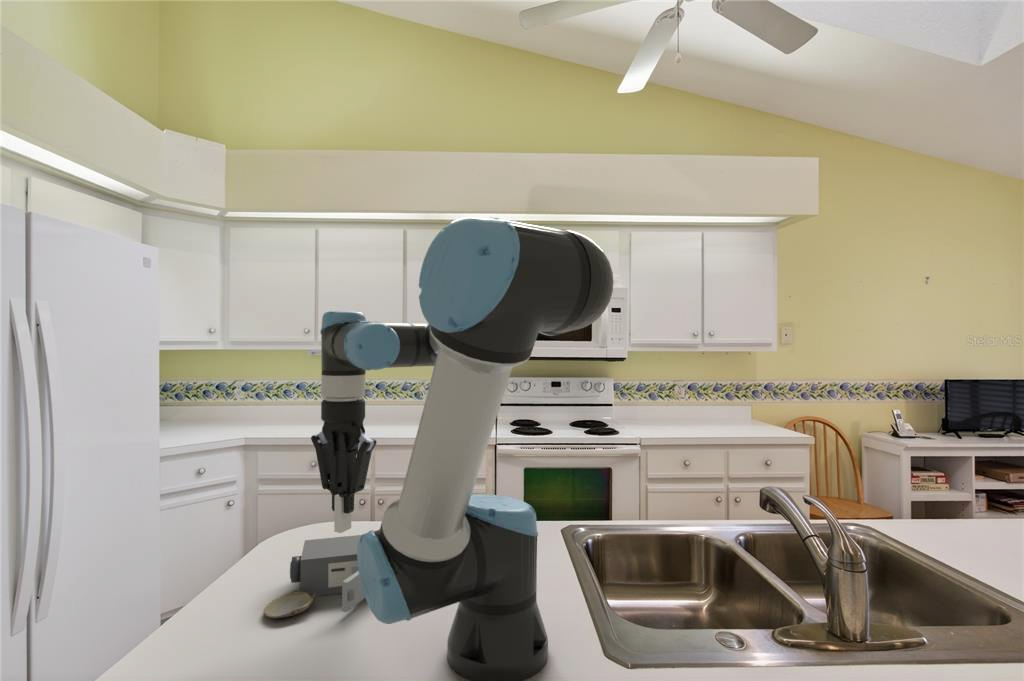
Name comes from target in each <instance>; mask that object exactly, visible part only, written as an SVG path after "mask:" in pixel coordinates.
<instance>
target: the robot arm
mask: <svg viewBox="0 0 1024 681" xmlns="http://www.w3.org/2000/svg"><path fill="white" fill-rule="evenodd" d="M423 258H424V259H423V260H422V261H423V262H422V265H421V269H420V273H419V278H418V279H419V280H418V288H420V289H421V291H420V293H419V295H418V298H419V306H420V310H421V312H422V315H423V317H424V319H425V320H426V322H425V323H417V322H416V323H413V322H412V323H411V322H407V323H406V322H405V323H403V322H381V321H366V316H365V314H364V313H363V312H360V311H347V310H346V311H343V310H342V311H341V310H340V311H339V310H338V311H331V310H330V311H326V312H324V313H323V315H322V319H321V328H320V335H321V338H320V339H321V340H320V341H321V342H320V343H321V379H320V380H321V384H320V386H321V388H320V389H321V392H320V396H321V397H322V398H324V399H323V400H321V402H320V404H321V405H320V406H321V407H320V409H321V410H320V414H321V416H320V418H321V421H323V425H322V427H321V431H320V432H319V433H317V434H313V435H311V437H310V440H311V442H312V444H313V446H314V448H315V454H316V460H317V465H318V470H319V476H320V482H321V487H322V489H324V490H327V491H329V492H330V494H331V509H332V512H333V513H334V518H333V519H334V520H333V521H334V522H333V523H334V525H333V526H334V528H333V531H334V533H338V534H343V533H344V532H347V531H348V530H350V529H352V512H354V510H355V494H356V493H358V492H361V491H364V489H365V486H366V481H367V476H368V471H369V466H370V460H371V457H372V452H373V450H374V449H375V447H376V445H377V440H376V438H370V437H368V435H367V434H366V429H365V426H364V420H365V418H366V400H365V399H364V398H363V397H364V396H365V395H366V371H372V370H373V371H378V370H383V369H389V368H391V369H392V368H409V367H410V368H413V367H433V369H432V373H431V374H432V375H431V377H430V381H429V385H428V390H427V393H426V396H425V397H426V398H425V400H424V401H425V402H424V404H423V410H422V413H421V417H420V419H419V423H418V429H417V431H416V436H415V439H414V444H413V448H412V449H411V450H412V452H411V456H410V459H409V463H408V465H407V471H406V475H405V478H404V482H403V486H402V489H401V494H400V497H399V498H398V499H396V500H394V501H393V502H392V503H390V504H389V505H388V507H387V508H386V510H385V511H384V513H383V516H382V520H381V523H380V524H381V525H380V527H379V529H378V530H373V529H371V530H368V532H366V533H362V534H361V535H362V536H361V537H360V539H359V541H358V545H357V563H358V570H359V576H360V581H361V585H362V588H363V592H364V595H365V598H364V599H365V601H366V603H367V605H368V607H369V609H370V611H371V614H373V616H374V618H375V619H377V621H379V622H381V623H383V624H386V625H392V624H396V623H398V622H401V621H402V622H403V621H408V622H409V621H411V620H412V619H414V618H417V617H420V616H423V615H425V614H429V613H431V612H435V611H436V610H441V609H443V608H446V607H448V606H451V605H455V604H458V605H457V609H456V611H455V615H454V618H453V621H452V624H451V628H450V630H449V634H448V636H447V641H446V642H447V645H446V646H447V647H446V648H447V650H446V651H447V652H446V654H447V656H446V658H447V661H448V663H449V665H450V667H451V668H452V669H453V670H454V671H455V672H456V673H458V675H460V676H462V677H464V678H466V679H468V680H471V681H523V680H526V679H528V678H530V677H532V676H534V675H536V674H537V673H538V672H540V670H542V669H543V667H544V666H545V665H546V663H547V661H548V658H549V638H548V634H547V631H546V628H545V624H544V622H543V618H542V615H541V612H540V608H539V606H538V602H537V588H538V587H537V586H538V585H537V584H538V583H537V578H538V577H537V576H538V575H537V568H538V567H537V565H538V564H537V557H538V555H537V554H538V536H539V532H538V525H537V513H536V511H535V509H534V507H533V506H532V505H531V504H529V503H527V502H526V501H523V500H521V499H517V498H514V497H510V496H504V495H497V494H496V495H495V494H481V493H480V494H473V491H474V488H475V485H476V482H477V478H478V476H479V473H480V470H481V468H482V467H481V466H482V463H483V462H484V461H483V460H484V457H485V454H486V452H487V448H488V445H489V442H490V439H491V436H492V432H493V429H494V426H495V423H496V420H497V417H498V415H499V414H498V413H499V412H500V411H499V410H500V408H501V404H502V401H503V398H504V395H505V392H506V389H507V386H508V383H509V380H510V376H511V374H512V370H513V368H515V367H518V366H520V365H523V364H525V363H526V362H528V360H530V358H531V355H532V352H533V349H534V347H535V343H536V341H537V337H538V335H539V334H542V335H545V336H548V337H549V336H550V337H551V336H558V335H561V334H565V333H568V332H571V331H576V330H580V329H583V328H586V327H588V326H589V325H592V324H593V323H595V322H596V321H597V320H598V319H599V318H600V317H601V316H602V315H603V313H604V312H606V309H607V308H608V305H609V304H610V301H611V299H612V295H613V292H614V274H613V273H614V272H613V269H612V266H611V263H610V261H609V259H608V257H607V256H606V253H605V251H603V249H602V248H601V247H600V246H599V245H598V244H597V243H596V242H594V240H592V239H591V238H589V237H588V236H586V235H584V234H582V233H579V232H576V231H573V230H568V229H567V230H566V229H559V228H552V227H546V226H539V225H535V224H530V223H523V222H518V221H511V220H506V219H502V218H500V217H489V218H484V217H483V218H482V217H475V216H474V217H473V216H472V217H471V216H465V217H460V218H457V219H455V220H453V221H451V222H449V224H448V225H446V226H445V227H443V228H442V229H440V230H439V232H438V233H437V234H436V236H435V237H434V238H433V240H432V241H431V243H430V244H429V247H428V249H427V251H426V254H425V256H424V257H423Z"/></svg>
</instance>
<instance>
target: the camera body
mask: <svg viewBox="0 0 1024 681" xmlns="http://www.w3.org/2000/svg"><path fill="white" fill-rule="evenodd" d="M362 535H363V534H355V535H348V536H347V535H345V536H338V537H337V536H336V537H335V536H334V537H323V538H317V539H315V538H314V539H305V540H304V542H303V548H302V553H301V555H297V556H296V555H295V556H291V561H290V563H289V578H290V582H291V583H290V584H294V583H295V584H296V583H300V591H301V592H306V593H309V594H315V593H316V595H315V597H316V598H317V597H323V596H331V595H340V594H342V582H343V581H344V580H346V579H347V578H348V577H350V576H351V575H353V574H354V573H356V572H357V571H358V563H357V545H358V541H359V539H360V537H361V536H362ZM315 597H314V598H315Z"/></svg>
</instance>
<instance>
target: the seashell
mask: <svg viewBox="0 0 1024 681" xmlns="http://www.w3.org/2000/svg"><path fill="white" fill-rule="evenodd" d="M315 595H316V593H315V594H309V593H306V592H301V590H300V591H299V590H298V591H293V592H289V593H286V594H283V595H279V597H277V598H275V599H273V600H272V601H270V602H268V604H266V606H265V607H264V609H263V615H264V617H266V618H270V619H271V618H272V619H282V618H283V619H284V618H289V617H293V616H295V615H298V614H301V613H303V612H304V611H306V610H308V608H309V607H310V606H311V605H312V604H313V602H314V599H315Z"/></svg>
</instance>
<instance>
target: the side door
mask: <svg viewBox="0 0 1024 681" xmlns="http://www.w3.org/2000/svg"><path fill="white" fill-rule="evenodd" d="M341 594H342V595H341V598H342V600H341V607H342V608H341V609H342V612H345V613H348V612H349V611H351V610H352V609H353V608H354V607H356V606H357V605H358V604H359V603H361V602H362V601H363V600H364V599H366V598H365V595H364V592H363V588H362V585H361V581H360V576H359V570H358V571H357V572H356V573H354V574H353V575H351V576H350V577H348V578H347V579H346V580H344V581H343V582H342V593H341Z"/></svg>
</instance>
